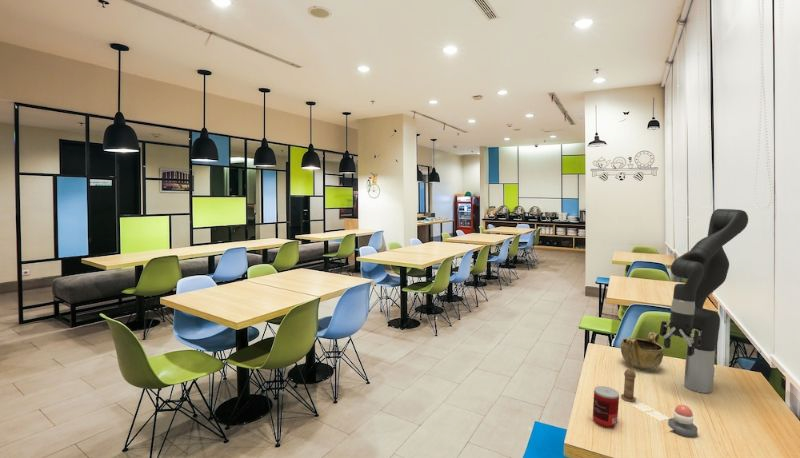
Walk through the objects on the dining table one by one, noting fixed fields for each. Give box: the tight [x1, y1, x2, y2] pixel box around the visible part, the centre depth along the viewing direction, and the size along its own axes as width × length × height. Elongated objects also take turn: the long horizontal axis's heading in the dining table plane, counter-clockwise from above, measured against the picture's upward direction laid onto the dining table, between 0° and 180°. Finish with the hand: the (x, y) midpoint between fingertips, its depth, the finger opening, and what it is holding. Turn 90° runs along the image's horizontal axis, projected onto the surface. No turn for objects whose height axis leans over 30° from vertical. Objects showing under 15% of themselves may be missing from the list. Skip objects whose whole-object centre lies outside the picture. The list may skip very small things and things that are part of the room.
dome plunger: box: [673, 404, 694, 424], centre depth 134 cm, size 5×5×5 cm
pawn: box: [620, 369, 637, 404], centre depth 152 cm, size 5×5×12 cm
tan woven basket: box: [620, 331, 664, 371], centre depth 185 cm, size 22×17×15 cm
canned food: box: [592, 385, 620, 429], centre depth 138 cm, size 8×8×11 cm
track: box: [619, 395, 671, 422], centre depth 147 cm, size 8×18×1 cm, turn 20°
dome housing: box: [667, 417, 698, 439], centre depth 134 cm, size 8×8×2 cm
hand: (678, 351), depth 158 cm, fingers open, 8 cm apart
